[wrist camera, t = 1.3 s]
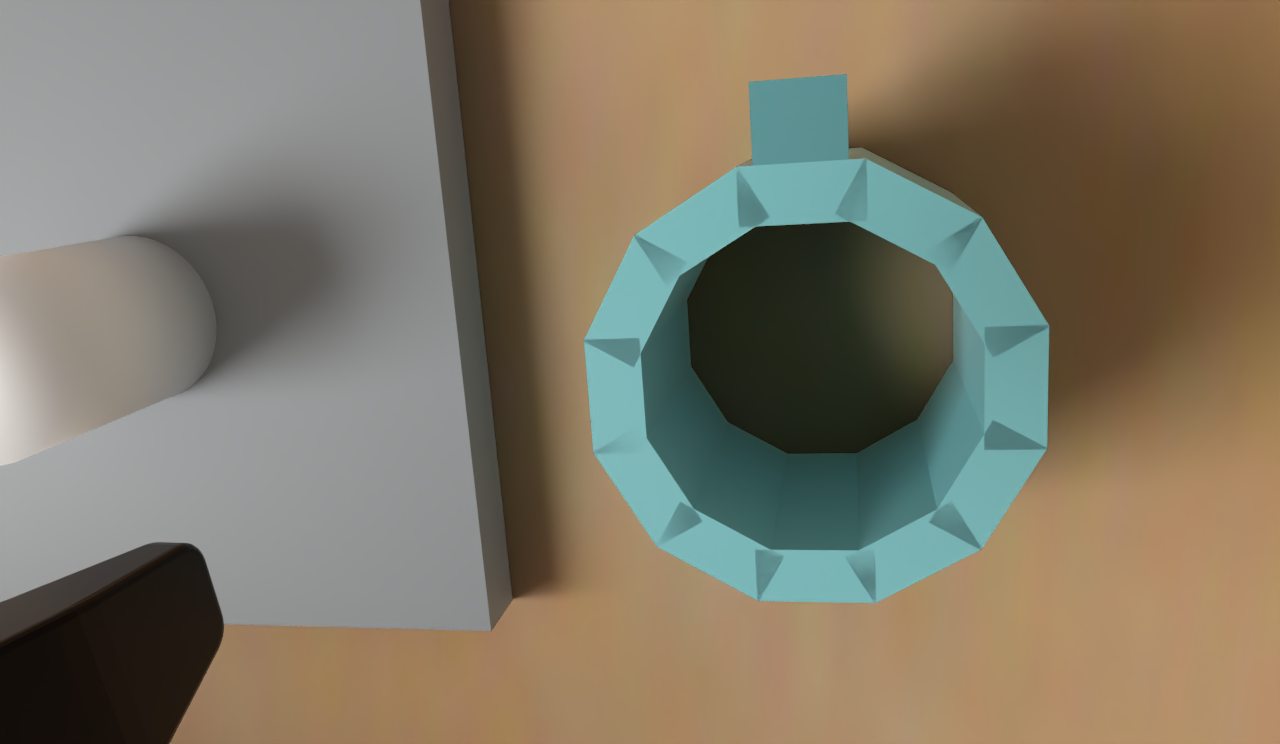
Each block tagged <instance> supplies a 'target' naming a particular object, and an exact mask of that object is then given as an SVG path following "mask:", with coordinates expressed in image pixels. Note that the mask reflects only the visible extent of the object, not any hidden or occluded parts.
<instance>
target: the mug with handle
mask: <svg viewBox="0 0 1280 744" xmlns="http://www.w3.org/2000/svg"><path fill="white" fill-rule="evenodd" d="M749 99H750V120H751V142H752V159H751V160H749V161H747V162H745V163H742V164H740V165H738V166H736V167H735V168H734V169H732V170H731V171H729V172H728V173H726V174H725V175H724V176H722V177H721V178H719V179H718V180H716V181H715V182H713V183H712V184H710V185H709V186H707V187H706V188H704V189H703V190H701V191H700V192H698V193H697V194H695V195H694V196H692V197H691V198H689V199H688V200H686V201H685V202H683V203H682V204H680V205H679V206H677V207H676V208H674V209H673V210H671V211H670V212H668V213H667V214H665V215H664V216H662V217H661V218H659V219H658V220H656V221H655V222H653V223H652V224H651V225H649V226H648V227H646V228H645V229H643V230H642V231H640V232H638V233H637V234H635V235H634V237H633V239H632V241H631V243H630V245H629V248H628V250H627V252H626V254H625V256H624V258H623V260H622V262H621V264H620V266H619V268H618V271H617V273H616V275H615V277H614V279H613V281H612V283H611V285H610V287H609V289H608V291H607V294H606V296H605V298H604V300H603V302H602V304H601V306H600V308H599V310H598V312H597V314H596V317H595V319H594V321H593V323H592V325H591V327H590V329H589V331H588V333H587V335H586V337H585V339H584V346H585V358H586V370H587V382H588V394H589V405H590V417H591V429H592V441H593V453H594V454H595V456H596V457H597V459H598V460H599V462H600V463H601V465H602V466H603V468H604V469H605V471H606V472H607V474H608V475H609V477H610V478H611V480H612V481H613V483H614V484H615V485H616V487H617V488H618V490H619V491H620V493H621V494H622V496H623V497H624V499H625V500H626V502H627V503H628V505H629V506H630V508H631V509H632V511H633V512H634V514H635V515H636V517H637V518H638V520H639V521H640V522H641V524H642V525H643V527H644V528H645V530H646V531H647V533H648V534H649V536H650V537H651V539H652V540H653V542H654V543H655V545H656V546H657V547H659V548H660V549H662V550H664V551H666V552H668V553H670V554H672V555H673V556H675V557H677V558H679V559H681V560H683V561H685V562H687V563H688V564H690V565H692V566H694V567H696V568H698V569H700V570H701V571H703V572H705V573H707V574H709V575H711V576H713V577H715V578H716V579H718V580H720V581H722V582H724V583H726V584H728V585H729V586H731V587H733V588H735V589H737V590H739V591H741V592H742V593H744V594H746V595H748V596H750V597H752V598H754V599H756V600H757V601H791V602H844V603H877V602H879V601H880V600H882V599H884V598H886V597H888V596H890V595H892V594H894V593H896V592H898V591H900V590H902V589H904V588H906V587H908V586H910V585H912V584H914V583H916V582H918V581H920V580H922V579H924V578H926V577H928V576H930V575H932V574H934V573H936V572H938V571H940V570H942V569H944V568H946V567H948V566H950V565H952V564H954V563H955V562H957V561H959V560H961V559H963V558H965V557H967V556H969V555H971V554H973V553H975V552H977V551H979V550H981V549H982V548H983V546H984V545H985V543H986V542H987V540H988V539H989V537H990V535H991V534H992V532H993V531H994V529H995V528H996V526H997V525H998V523H999V522H1000V520H1001V519H1002V517H1003V516H1004V514H1005V512H1006V511H1007V509H1008V508H1009V506H1010V505H1011V503H1012V502H1013V500H1014V499H1015V497H1016V496H1017V494H1018V493H1019V491H1020V489H1021V488H1022V486H1023V485H1024V483H1025V482H1026V480H1027V479H1028V477H1029V476H1030V474H1031V473H1032V471H1033V470H1034V468H1035V466H1036V465H1037V463H1038V462H1039V460H1040V459H1041V457H1042V456H1043V454H1044V453H1045V451H1046V450H1047V428H1048V370H1049V327H1050V326H1049V324H1048V323H1047V321H1046V320H1045V318H1044V316H1043V315H1042V313H1041V312H1040V310H1039V308H1038V307H1037V305H1036V304H1035V302H1034V300H1033V299H1032V297H1031V295H1030V294H1029V292H1028V291H1027V289H1026V287H1025V286H1024V284H1023V282H1022V281H1021V279H1020V278H1019V276H1018V274H1017V273H1016V271H1015V269H1014V268H1013V266H1012V265H1011V263H1010V261H1009V260H1008V258H1007V257H1006V255H1005V253H1004V252H1003V250H1002V248H1001V247H1000V245H999V244H998V242H997V240H996V239H995V237H994V235H993V234H992V232H991V231H990V229H989V227H988V226H987V224H986V222H985V221H984V219H983V217H982V216H981V215H979V214H978V213H977V212H975V211H974V210H973V209H972V208H970V207H969V206H968V205H967V204H965V203H964V202H963V201H962V200H960V199H959V198H958V197H957V196H955V195H954V194H953V193H951V192H949V191H947V190H945V189H943V188H942V187H940V186H938V185H936V184H934V183H932V182H930V181H928V180H926V179H924V178H922V177H920V176H918V175H916V174H914V173H912V172H910V171H908V170H906V169H904V168H902V167H900V166H898V165H896V164H894V163H892V162H890V161H888V160H886V159H884V158H882V157H880V156H878V155H876V154H874V153H872V152H870V151H868V150H866V149H864V148H862V147H859V148H849V140H848V101H847V74H842V75H830V76H817V77H805V78H792V79H780V80H767V81H755V82H749ZM832 222H852V223H854V224H856V225H858V226H860V227H862V228H864V229H866V230H868V231H870V232H872V233H874V234H876V235H878V236H880V237H882V238H883V239H885V240H887V241H889V242H891V243H893V244H895V245H897V246H899V247H901V248H903V249H905V250H907V251H909V252H911V253H913V254H915V255H917V256H919V257H921V258H923V259H925V260H927V261H929V262H931V263H933V264H935V265H936V267H937V268H938V270H939V272H940V273H941V275H942V276H943V278H944V280H945V281H946V283H947V284H948V286H949V288H950V289H951V291H952V292H953V361H952V363H951V364H950V366H949V368H948V369H947V371H946V373H945V374H944V376H943V377H942V379H941V381H940V382H939V384H938V386H937V387H936V389H935V391H934V392H933V394H932V396H931V397H930V399H929V401H928V402H927V404H926V406H925V407H924V409H923V411H922V412H921V414H920V416H919V417H918V419H917V420H915V421H913V422H912V423H910V424H908V425H906V426H904V427H903V428H901V429H899V430H897V431H895V432H894V433H892V434H890V435H888V436H886V437H885V438H883V439H881V440H879V441H877V442H876V443H874V444H872V445H870V446H868V447H867V448H865V449H863V450H861V451H860V452H858V453H815V454H787V453H785V452H784V451H782V450H780V449H778V448H776V447H774V446H772V445H770V444H768V443H766V442H765V441H763V440H761V439H759V438H757V437H755V436H753V435H751V434H749V433H747V432H746V431H744V430H742V429H740V428H738V427H736V426H734V425H732V424H730V423H728V422H727V420H726V419H725V417H724V416H723V414H722V413H721V411H720V410H719V408H718V406H717V405H716V403H715V402H714V400H713V399H712V397H711V396H710V394H709V393H708V391H707V390H706V388H705V387H704V385H703V384H702V382H701V381H700V379H699V378H698V376H697V375H696V373H695V372H694V370H693V369H692V367H691V356H690V340H689V323H688V307H687V299H688V297H689V295H690V293H691V291H692V289H693V287H694V285H695V283H696V281H697V279H698V277H699V275H700V273H701V271H702V269H703V267H704V265H705V263H706V261H707V259H708V257H709V256H711V255H712V254H714V253H716V252H717V251H719V250H720V249H722V248H723V247H725V246H726V245H728V244H729V243H731V242H733V241H734V240H736V239H737V238H739V237H740V236H742V235H743V234H745V233H746V232H748V231H750V230H751V229H753V228H754V227H756V226H775V225H794V224H813V223H832Z"/></svg>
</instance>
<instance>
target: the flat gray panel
mask: <svg viewBox="0 0 1280 744" xmlns="http://www.w3.org/2000/svg"><path fill="white" fill-rule="evenodd" d="M154 542H170V543H189V544H192V545H194V546H196V547H197V548H198V549H199V550H200V551H201V553H202V554H203V556H204V558H205V560H206V564H207V567H208V570H209V573H210V576H211V580H212V583H213V586H214V589H215V592H216V596H217V599H218V602H219V605H220V608H221V612H222V615H223V620H224V624H235V625H274V626H312V627H351V628H390V629H428V630H467V631H492V629H493V628H494V626H495V625H496V623H497V622H498V620H499V619H500V617H501V616H502V615H503V613H504V612H505V610H506V609H507V607H508V606H509V604H510V603H511V602H512V600H513V599H512V589H511V580H510V571H509V561H508V552H507V542H506V533H505V524H504V514H503V505H502V496H501V486H500V477H499V467H498V458H497V449H496V439H495V430H494V421H493V411H492V402H491V392H490V383H489V374H488V364H487V355H486V346H485V336H484V327H483V317H482V308H481V299H480V289H479V280H478V271H477V261H476V252H475V242H474V233H473V224H472V214H471V205H470V195H469V186H468V177H467V167H466V158H465V149H464V139H463V130H462V120H461V111H460V102H459V92H458V83H457V74H456V64H455V55H454V45H453V36H452V27H451V17H450V8H449V0H0V602H2V601H4V600H7V599H9V598H12V597H14V596H17V595H20V594H22V593H25V592H27V591H30V590H32V589H35V588H37V587H40V586H42V585H45V584H47V583H50V582H52V581H55V580H57V579H60V578H62V577H65V576H67V575H70V574H72V573H75V572H78V571H80V570H83V569H85V568H88V567H90V566H93V565H95V564H98V563H100V562H103V561H105V560H108V559H110V558H113V557H115V556H118V555H120V554H123V553H125V552H128V551H131V550H133V549H136V548H138V547H141V546H143V545H146V544H149V543H154Z"/></svg>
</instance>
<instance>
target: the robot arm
mask: <svg viewBox="0 0 1280 744" xmlns="http://www.w3.org/2000/svg"><path fill="white" fill-rule="evenodd" d="M223 631H224V620H223V615H222V612H221V608H220V605H219V602H218V599H217V596H216V592H215V589H214V586H213V583H212V580H211V576H210V573H209V570H208V567H207V564H206V560H205V558H204V556H203V554H202V553H201V551H200V550H199V549H198V548H197V547H196V546H194V545H192V544H189V543H170V542H154V543H149V544H146V545H143V546H141V547H138V548H136V549H133V550H131V551H128V552H125V553H123V554H120V555H118V556H115V557H113V558H110V559H108V560H105V561H103V562H100V563H98V564H95V565H93V566H90V567H88V568H85V569H83V570H80V571H78V572H75V573H72V574H70V575H67V576H65V577H62V578H60V579H57V580H55V581H52V582H50V583H47V584H45V585H42V586H40V587H37V588H35V589H32V590H30V591H27V592H25V593H22V594H20V595H17V596H14V597H12V598H9V599H7V600H4V601H2V602H0V744H170V742H171V740H172V738H173V736H174V734H175V732H176V730H177V728H178V726H179V724H180V722H181V720H182V718H183V717H184V715H185V713H186V711H187V709H188V707H189V705H190V703H191V701H192V699H193V697H194V695H195V693H196V691H197V690H198V688H199V686H200V684H201V682H202V680H203V678H204V676H205V674H206V672H207V670H208V668H209V666H210V664H211V662H212V661H213V659H214V657H215V655H216V653H217V651H218V649H219V647H220V644H221V641H222V637H223Z"/></svg>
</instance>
